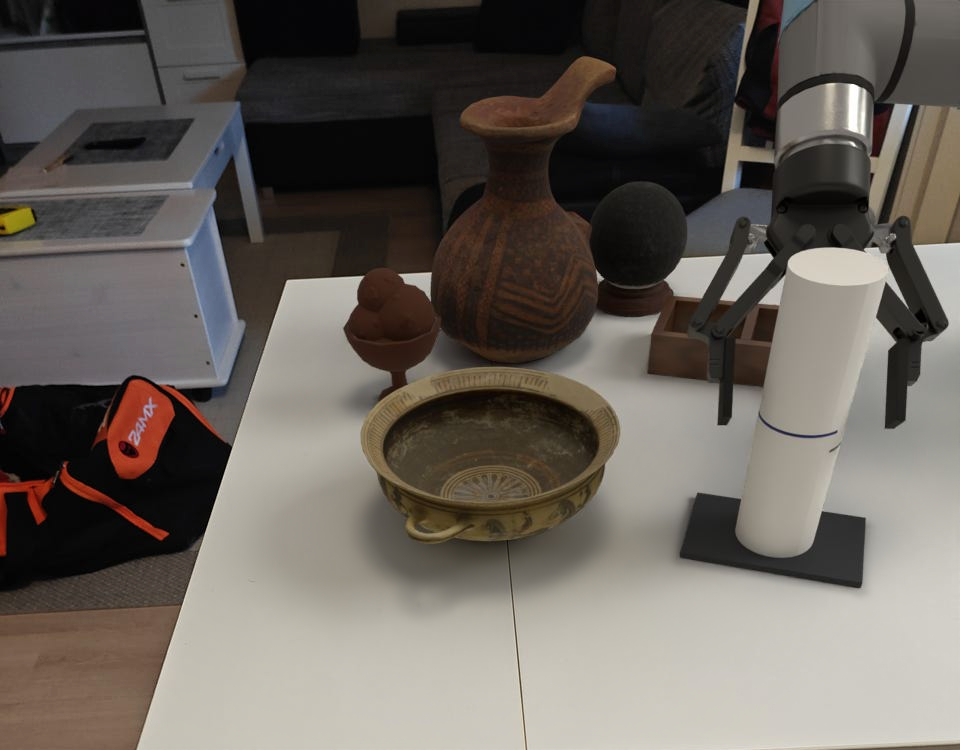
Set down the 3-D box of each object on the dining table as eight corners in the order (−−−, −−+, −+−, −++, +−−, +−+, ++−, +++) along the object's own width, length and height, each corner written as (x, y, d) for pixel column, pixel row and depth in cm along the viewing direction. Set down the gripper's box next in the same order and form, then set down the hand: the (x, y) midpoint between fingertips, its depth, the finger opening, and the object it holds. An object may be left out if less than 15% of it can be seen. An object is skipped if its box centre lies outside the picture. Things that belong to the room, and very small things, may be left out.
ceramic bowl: (545, 641, 74) (546, 549, 67) (311, 572, 83) (290, 483, 76) (654, 460, 93) (663, 373, 86) (455, 418, 102) (449, 335, 95)
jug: (591, 384, 106) (605, 101, 85) (418, 376, 109) (390, 102, 88) (605, 307, 121) (620, 51, 100) (453, 302, 124) (436, 53, 103)
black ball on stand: (684, 282, 126) (697, 168, 115) (675, 322, 117) (689, 203, 106) (593, 277, 128) (597, 166, 118) (577, 316, 119) (581, 199, 109)
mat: (864, 522, 84) (865, 517, 84) (860, 588, 77) (862, 582, 77) (696, 497, 88) (697, 492, 88) (679, 557, 82) (680, 552, 81)
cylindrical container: (720, 522, 84) (768, 258, 67) (783, 504, 86) (846, 241, 68) (763, 565, 79) (827, 292, 62) (829, 545, 81) (910, 274, 63)
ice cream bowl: (345, 420, 102) (324, 293, 92) (371, 374, 110) (353, 252, 100) (434, 425, 101) (422, 296, 90) (453, 378, 108) (444, 254, 98)
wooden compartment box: (837, 350, 109) (847, 311, 106) (832, 394, 101) (842, 354, 98) (664, 332, 115) (668, 295, 111) (647, 373, 107) (650, 334, 104)
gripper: (961, 187, 74) (949, 437, 74) (663, 190, 77) (651, 431, 77) (1004, 135, 67) (990, 413, 66) (671, 140, 70) (658, 407, 69)
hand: (808, 423), depth 72 cm, fingers open, 13 cm apart
